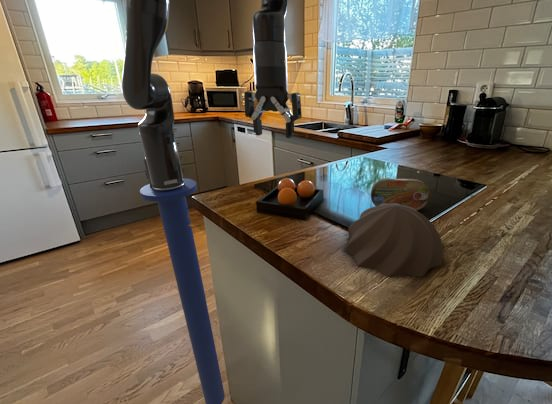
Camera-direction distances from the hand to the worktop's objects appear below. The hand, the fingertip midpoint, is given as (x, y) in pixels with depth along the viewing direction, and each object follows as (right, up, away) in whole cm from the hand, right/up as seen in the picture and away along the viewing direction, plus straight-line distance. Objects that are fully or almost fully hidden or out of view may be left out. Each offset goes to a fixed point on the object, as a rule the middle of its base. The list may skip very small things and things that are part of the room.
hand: (273, 136), depth 74 cm
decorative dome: (+26, -26, -12) cm, 39 cm away
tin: (+33, -18, +6) cm, 38 cm away
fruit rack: (+4, -17, +9) cm, 20 cm away
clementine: (+1, -16, +5) cm, 17 cm away
